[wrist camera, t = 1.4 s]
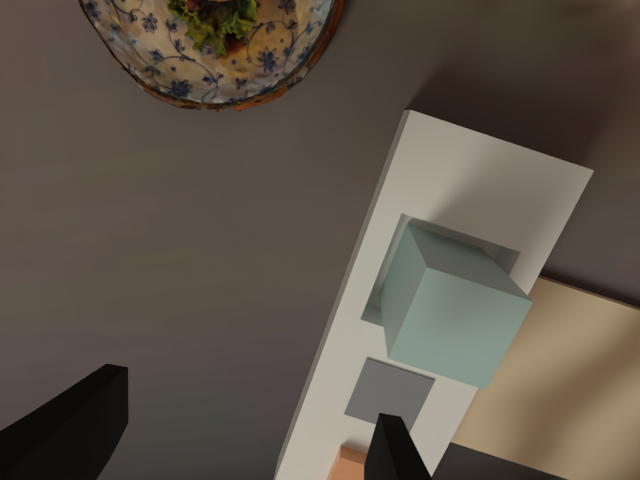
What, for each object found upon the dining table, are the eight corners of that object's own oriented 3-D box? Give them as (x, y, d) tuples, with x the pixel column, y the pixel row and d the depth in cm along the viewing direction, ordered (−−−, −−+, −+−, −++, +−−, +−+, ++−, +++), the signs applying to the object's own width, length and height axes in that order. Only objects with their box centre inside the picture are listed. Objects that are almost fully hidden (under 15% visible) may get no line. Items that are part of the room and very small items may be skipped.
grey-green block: (482, 248, 20) (533, 301, 14) (450, 316, 21) (485, 389, 16) (406, 223, 20) (426, 266, 14) (379, 293, 21) (387, 358, 16)
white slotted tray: (564, 163, 19) (605, 173, 16) (397, 493, 26) (403, 546, 23) (403, 110, 19) (413, 109, 16) (279, 455, 26) (268, 503, 23)
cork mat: (731, 337, 21) (741, 343, 20) (619, 488, 24) (625, 497, 24) (530, 272, 21) (535, 276, 20) (446, 433, 24) (448, 441, 24)
